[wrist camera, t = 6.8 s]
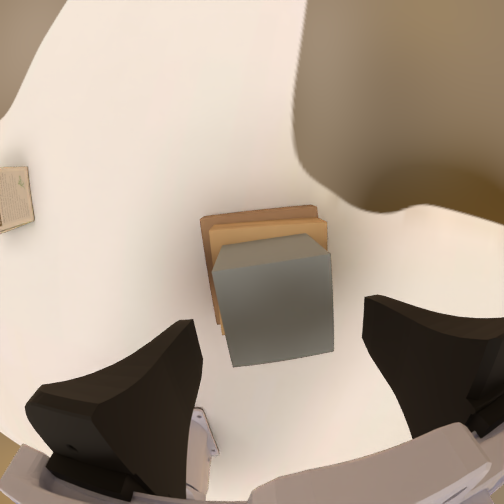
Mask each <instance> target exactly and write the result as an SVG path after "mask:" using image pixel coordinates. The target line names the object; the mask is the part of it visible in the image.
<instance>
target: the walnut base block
mask: <svg viewBox="0 0 504 504" xmlns="http://www.w3.org/2000/svg"><path fill="white" fill-rule="evenodd" d="M311 217H317V218H318V213H317V207H316V206H313V205H303V206H292V207H282V208H272V209H262V210H253V211H244V212H235V213H227V214H219V215H211V216H204V217H202V218H201V219H200V225H201V232H202V238H203V245H204V252H205V258H206V264H207V271H208V277H209V283H210V289H211V294H212V300H213V306H214V311H215V317H216V322H217V325H219V324H220V317H219V309H218V302H217V295H216V291H215V286H214V281H213V276H212V270H213V262H212V254H211V245H210V236H209V230H210V229H211V228H212V227H213V225H216V224H227V223H239V222H252V221H265V220H280V219H295V218H311Z"/></svg>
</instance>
